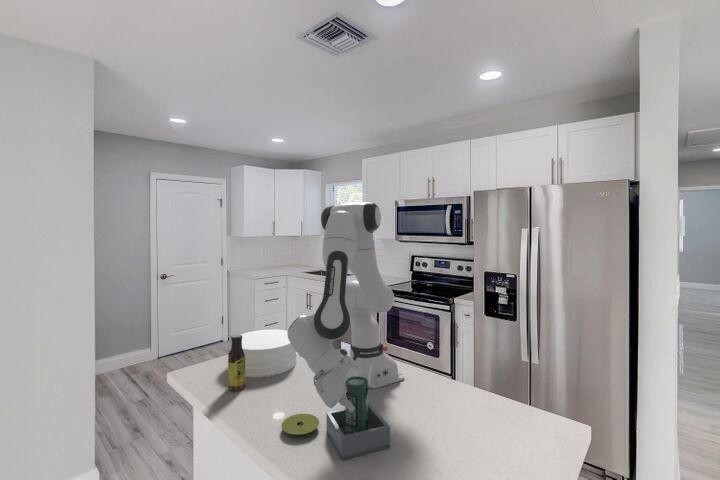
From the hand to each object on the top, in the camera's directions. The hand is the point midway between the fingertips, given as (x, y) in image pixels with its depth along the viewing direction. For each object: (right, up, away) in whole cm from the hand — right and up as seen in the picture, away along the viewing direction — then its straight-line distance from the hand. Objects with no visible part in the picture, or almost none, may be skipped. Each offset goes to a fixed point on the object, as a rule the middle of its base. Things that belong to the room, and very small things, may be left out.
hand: (358, 403), depth 102 cm
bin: (-1, -11, +1) cm, 11 cm away
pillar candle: (-14, -8, +70) cm, 72 cm away
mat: (-18, -11, +6) cm, 22 cm away
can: (-1, -9, +1) cm, 9 cm away
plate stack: (-42, -9, +57) cm, 71 cm away
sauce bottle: (-46, -10, +34) cm, 58 cm away
